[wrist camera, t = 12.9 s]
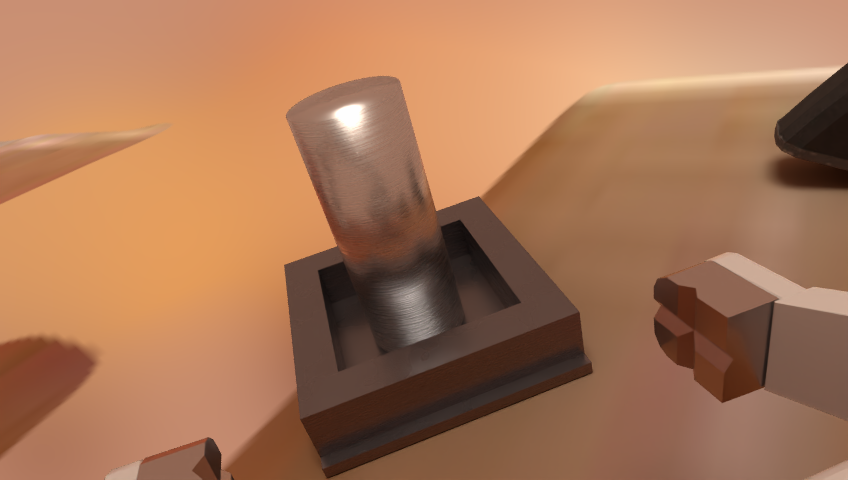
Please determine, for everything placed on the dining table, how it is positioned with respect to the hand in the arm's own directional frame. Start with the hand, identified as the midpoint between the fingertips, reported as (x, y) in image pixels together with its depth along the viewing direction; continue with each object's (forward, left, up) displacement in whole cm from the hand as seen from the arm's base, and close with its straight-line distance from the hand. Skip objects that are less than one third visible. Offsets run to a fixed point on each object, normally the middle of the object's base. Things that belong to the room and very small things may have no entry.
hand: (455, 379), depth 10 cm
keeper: (-4, +11, -9) cm, 15 cm away
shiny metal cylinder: (-5, +11, -8) cm, 14 cm away
